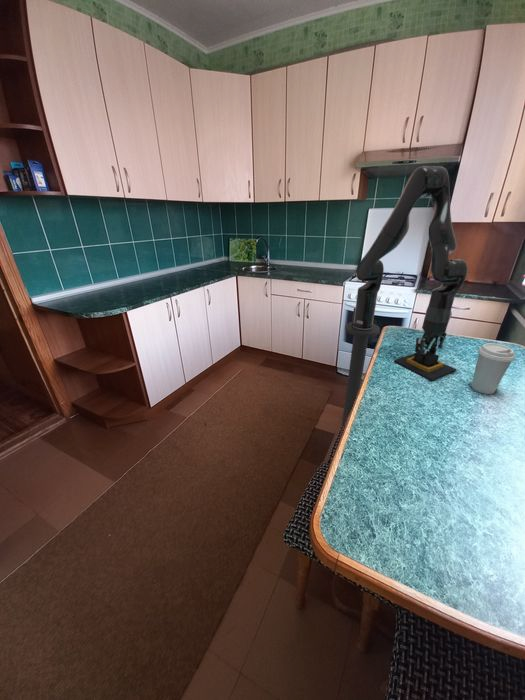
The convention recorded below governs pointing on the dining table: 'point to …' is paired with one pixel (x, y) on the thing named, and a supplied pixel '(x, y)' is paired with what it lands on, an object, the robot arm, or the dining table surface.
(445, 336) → the robot arm
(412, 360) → the base pad
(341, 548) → the dining table surface
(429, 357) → the black block
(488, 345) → the coffee cup
